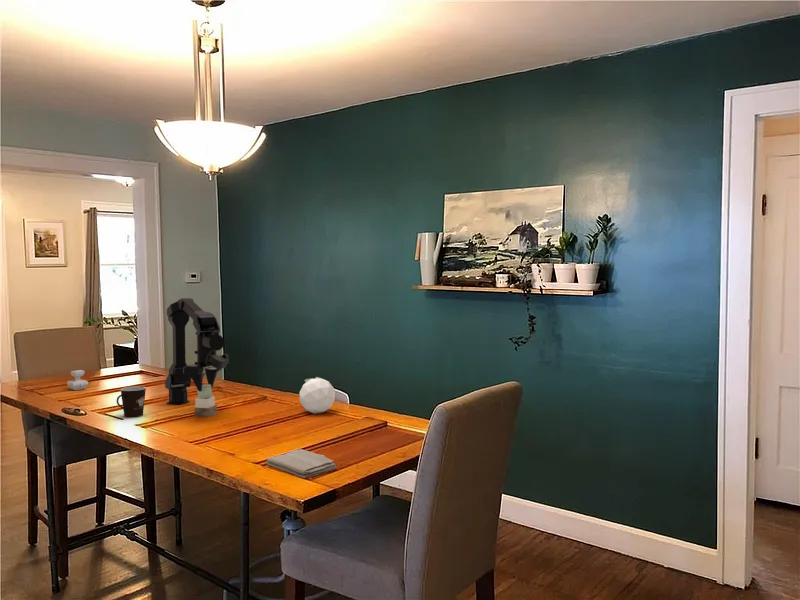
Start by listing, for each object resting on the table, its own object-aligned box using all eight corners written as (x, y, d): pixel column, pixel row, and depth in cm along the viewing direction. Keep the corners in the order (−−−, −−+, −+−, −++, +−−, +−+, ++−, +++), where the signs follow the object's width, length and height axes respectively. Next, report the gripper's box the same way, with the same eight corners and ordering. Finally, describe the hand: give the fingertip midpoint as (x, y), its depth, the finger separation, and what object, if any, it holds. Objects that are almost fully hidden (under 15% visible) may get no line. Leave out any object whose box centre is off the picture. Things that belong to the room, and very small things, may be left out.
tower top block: (195, 407, 234) (195, 398, 234) (202, 404, 239) (202, 395, 238) (208, 408, 233) (208, 398, 233) (214, 405, 238) (214, 396, 237)
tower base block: (194, 417, 233) (194, 407, 233) (202, 413, 239) (202, 404, 239) (209, 418, 233) (209, 408, 232) (217, 414, 238) (217, 405, 238)
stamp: (65, 389, 282) (65, 370, 282) (80, 387, 288) (80, 368, 287) (74, 391, 277) (74, 372, 276) (90, 389, 282) (89, 370, 281)
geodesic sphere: (289, 401, 233) (312, 372, 233) (289, 394, 246) (311, 366, 247) (320, 424, 235) (343, 394, 236) (319, 415, 249) (340, 387, 249)
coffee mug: (140, 411, 240) (140, 385, 240) (150, 415, 234) (149, 388, 234) (108, 416, 232) (108, 389, 232) (117, 420, 226) (117, 393, 225)
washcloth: (305, 481, 166) (305, 469, 166) (264, 466, 178) (264, 455, 177) (339, 470, 175) (339, 459, 174) (297, 456, 187) (297, 446, 186)
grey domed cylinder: (195, 398, 234) (194, 387, 233) (203, 394, 238) (202, 384, 238) (206, 398, 232) (205, 387, 232) (215, 394, 237) (213, 384, 236)
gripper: (208, 352, 223) (209, 396, 224) (238, 345, 241) (238, 386, 242) (182, 350, 227) (182, 393, 227) (212, 344, 244) (213, 384, 245)
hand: (205, 389), depth 235 cm, fingers open, 6 cm apart
